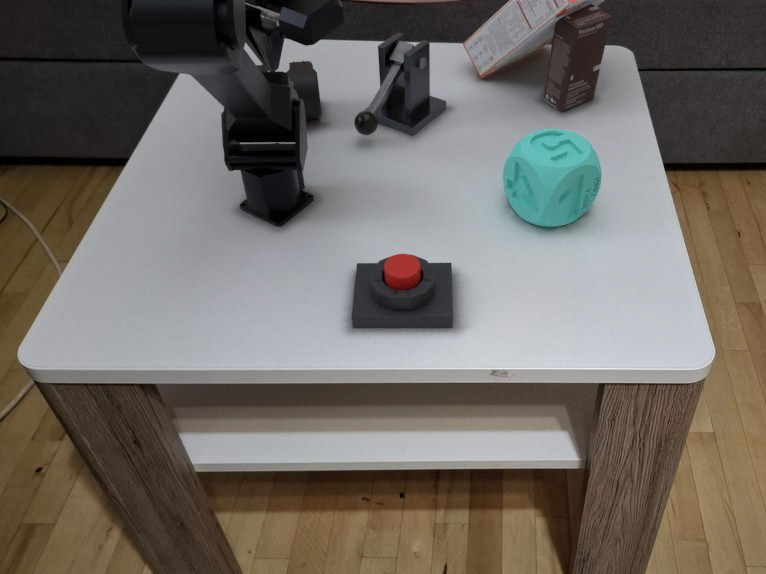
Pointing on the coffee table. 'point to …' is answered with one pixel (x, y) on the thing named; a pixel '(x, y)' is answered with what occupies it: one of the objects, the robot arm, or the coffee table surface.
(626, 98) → the coffee table surface
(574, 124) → the coffee table surface
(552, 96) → the box
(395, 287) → the button
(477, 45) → the cracker box
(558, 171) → the decorative dice
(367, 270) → the control block
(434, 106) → the bracket
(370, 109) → the lever
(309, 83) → the dark grey block
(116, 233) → the coffee table surface
